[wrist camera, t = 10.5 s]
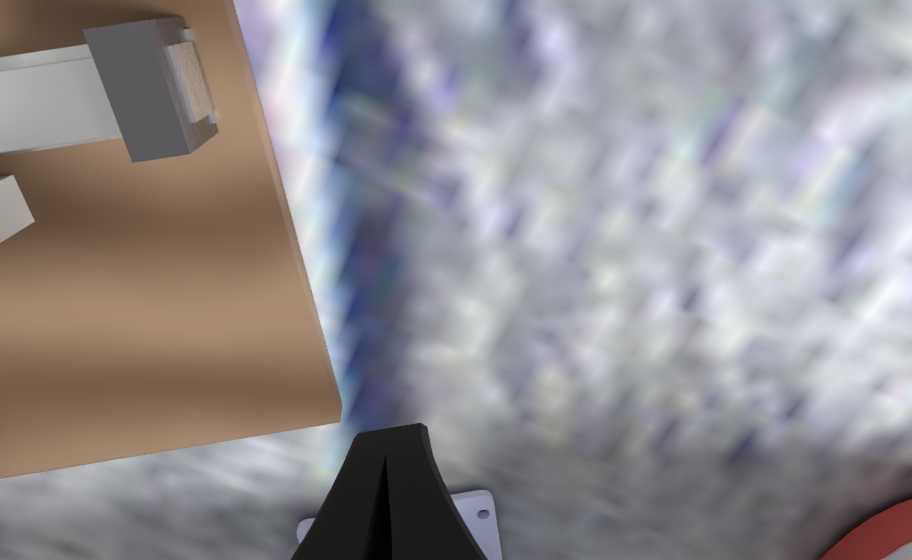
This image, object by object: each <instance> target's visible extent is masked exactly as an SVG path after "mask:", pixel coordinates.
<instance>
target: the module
mask: <svg viewBox="0 0 912 560" xmlns="http://www.w3.org/2000/svg"><path fill="white" fill-rule="evenodd" d="M33 222H35V221H34V219H33V216H32V214H31V212H30V210H29V208H28V206H27V204H26V201H25V199H24V197H23V195H22V193H21V191H20V189H19V186H18V184H17V182H16V180H15V178H14V176H13V175H8V176H2V177H0V243H1V242H3V241H4V240H6V239H7V238H9V237H11V236H12V235H14V234H15V233H17V232H19V231H20V230H22V229H23V228H25V227H27V226H28V225H30V224H31V223H33Z"/></svg>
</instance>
